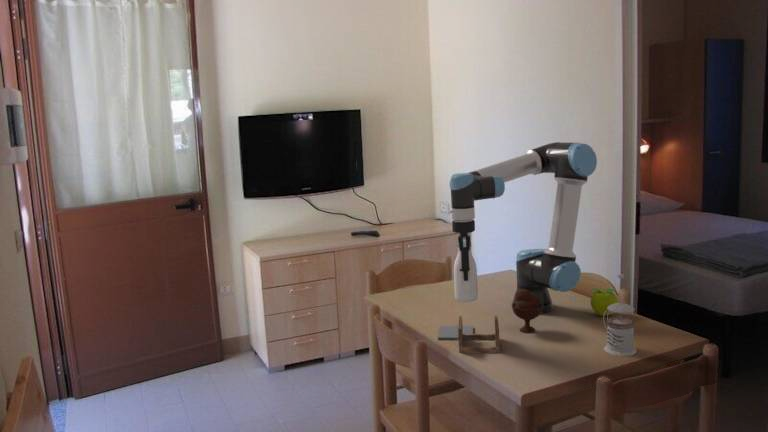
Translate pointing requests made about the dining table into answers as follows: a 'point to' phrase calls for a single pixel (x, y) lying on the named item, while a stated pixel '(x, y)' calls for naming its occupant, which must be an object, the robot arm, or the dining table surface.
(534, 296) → the ice cream bowl
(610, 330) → the french press
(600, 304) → the fruit
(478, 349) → the cradle
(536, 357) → the dining table surface
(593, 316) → the dining table surface
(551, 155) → the robot arm
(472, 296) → the milk bottle
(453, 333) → the coaster
